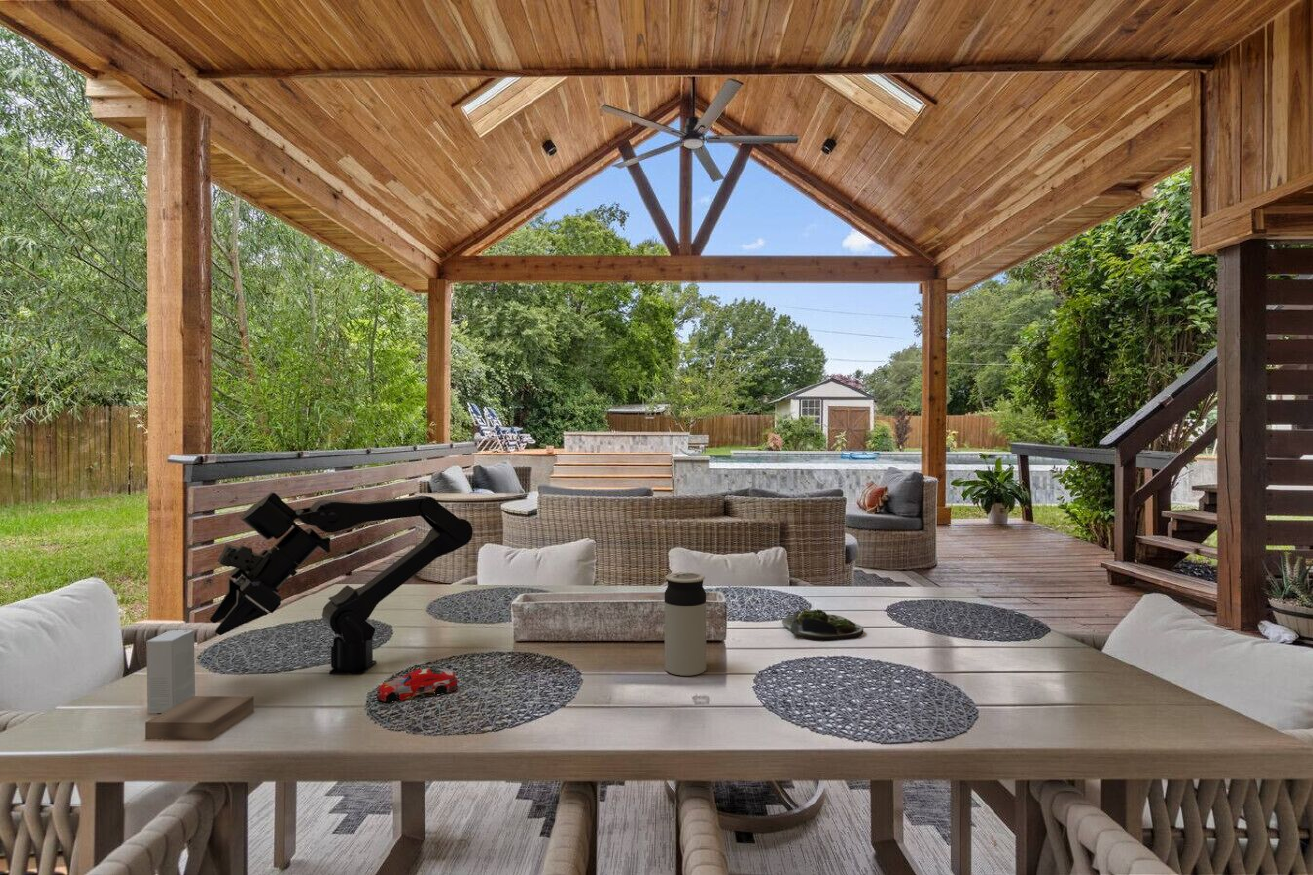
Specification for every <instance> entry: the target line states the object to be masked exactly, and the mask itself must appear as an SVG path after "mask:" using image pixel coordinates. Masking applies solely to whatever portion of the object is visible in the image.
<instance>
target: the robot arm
mask: <svg viewBox="0 0 1313 875" xmlns="http://www.w3.org/2000/svg"><path fill="white" fill-rule="evenodd" d="M414 517H421V518H422V519H423V520H424V522H425V523H427V524H428V525H429V526H430V528H431V529H430V530H429V531H428V533H427V534H426V535H425V537H424V539H423V540H422V541H421V542H420V543H418V544H417V545H416V546H415V547H413V548H412V549H411V550H409V551H407V553H405V554H403V556H401V557H400V558H399V559H397V560H396V561H395V562H393V563H392V564H391V565H389V566H387V568H385V569H384V570H382V571H381V572H379V573H378V574H377V575H376V576H374V577H373V578H372V579H370V580H369V581H368V582H366V583H365V584H364V585H362V586H359V587H357V588H353V587H351V586H350V585H348V584H347V585H345V586H344V587H343V588H341V590H340V591H338V593H336V594H335V595H333V596H330V597H328V600H329V601H328V602H327V603H326V604H325V605H324V607H323V608H322V612H321V618H322V622H323V623H324V624H325V625H326V626H327V627H328V628H329V629H330V630H331V631H333V633H334V635H336V637H334V638H333V639H332V645H331V646H330V667H331V669H330V670H329V671H328V674H329V675H362V674H363V675H364V674H365V673H366V672H367V671H368V670H370V669H371V668H372V667H374V666H375V665H376V664H377V660H375V659H374V660H373V658H374V657H373V653H374V650H373V642H374V640H373V639H374V638H373V637H374V634H375V632H376V628H375V627H374V626H373V625H371V624H370V623H369V622H368V621H367V620H368V619H369V618H370V617H371V615H372V614H373V611H374V610H375V609H376V607H377V605H378V604H379V603H380V602H381V601H383V600H384V599H386V598H387V597H388V596H390V595H391V594H392V593H393V592H395V591H396V590H398V588H400V587H402V585H403V584H404V583H406V582H408V581H409V580H410V579H411V578H413V577H414V576H416V574H418V573H419V572H421V571H422V570H423V569H425V568H426V567H427V566H428V565H429V564H431V563H432V562H433V561H435V560H436V559H437V558H440V557H441V556H444V555H447V554H451V553H452V552H455V551H457V550H459V549H460V548H462V547H464V546H466V545H467V544H469V542H470V541H471V540H472V539H473V532H474V531H473V526H472V524H471V522H469V521H468V520H467V519H464V518H459V517H457V516H456V515H455V514H454V513H453V512H451V511H450V510H448V509H447V508H446V507H445V506H443V505H441V504H440V502H438V501H437V500H436V498H434V497H433V496H427V495H417V496H416V497H404V498H403V497H402V498H395V499H384V500H374V501H373V500H371V501H363V502H359V501H358V502H357V501H347V500H338V499H337V500H336V499H320V500H317V501H315V502H314V503H313V504H312V505H311V506H310V507H304V508H297V509H293V508H292V507H291V506H289V505H288V504H287V503H286V502H284V500H282V499H281V497H280V496H279V495H278V494H277V493H276V492H274V491H271V492H269V493H268V494H267V495H266V496H265V497H263V498H262V499H260V500H259V501H257V503H253V504H252V505H251V506H250V507H249V508H248V509H246V511H245V512H244V513H243V515H242V516H241V517H240V520H241V521H242V522H244V523H245V524H246V525H247V526H249V528H251V529H252V530H254V531H255V532H256V533H257V534H258V535H260V536H261V537H262V538H264V539H265V540H267V541H268V540H270V539H274V540H279V539H280V540H279V541H277V542H276V544H274V545H273V547H271V548H270V549H269V548H267V549H263V550H262V551H261V552H260V553H257V552H254V551H253V548H252V547H247V546H245V545H243V544H242V545H240V546H239V547H238V546H235V545H232V544H228V543H227V544H225V546H224V548H223V550H222V552H221V553H220V556H219V557H218V560H217V562H218V564H220V565H222V566H225V567H227V568H229V567H232V568H233V570H232V571H230V573H228V575H229V576H230V577H229V576H228V578H227V587H228V588H227V589H228V590H227V592H226V593H225V595H224V597H223V598H222V599H221V601H220V603H219V604H218V606H217V607H216V609H215V610H214V612H213V613H212V615H211V616H210V618H209V621H210V622H211V623H213V624H217V623H218V622H220V623H219V625H218V626H217V627H216V629H215V631H214V632H215V633H216V634H217V635H218V636H222V635H224V634H226V633H228V632H230V631H232V630H234V629H237V628H240V627H241V626H243V625H245V624H247V623H251V622H252V621H255V620H256V619H258V618H261V617H263V616H267V615H269V613H270V614H273V613H274V612H275V611H276V610H277V609H278V608H279V607H280V606H281V604H282V602H281V601H282V598H281V596H280V595H279V594H278V593H279V591H280V590H279V588H280V586H282V585H283V583H284V582H285V581H286V580H287V579H288V578H290V577H291V576H292V577H294V576H295V575H297V573H298V571H297V569H299V567H300V566H301V565H302V564H303V563H304V562H305V561H307V559H308V558H309V557H310V556H311V555H312V554H314V552H316V550H317V549H318V548H319V550H320V549H321V551H323V552H325V553H327V554H329V553H330V552H331V545H330V544H331V537H328V536H321V535H320V534H319V533H318V532H316V530H320V531H321V532H324V533H328V534H329V533H337V532H340V531H343V530H346V529H350V528H353V527H356V526H358V525H360V524H365V523H369V522H378V521H379V522H380V521H385V520H386V521H388V520H395V519H397V520H398V519H404V518H414ZM294 521H298V522H300V523H302V524H303V525H304V524H305V525H309V526H312V527H313V528H315V529H316V530H314V529H313V528H311V527H310V528H306V529H303V528H302V527H301V526H300V525H299V524H297V523H296V522H294ZM268 612H269V613H268Z"/></svg>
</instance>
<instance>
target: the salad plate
mask: <svg viewBox="0 0 1313 875" xmlns="http://www.w3.org/2000/svg"><path fill="white" fill-rule="evenodd" d="M781 624H782V625H783V627H785V628H786V629H787V630H789V631H790V632H791V633H792V634H794V636H797V637H798V638H800V639H804V640H808V641H809V640H810V641H814V642H815V641H816V642H834V641H847V640H853V639H857V638H860V637H861V636H862V635H863V633H864V627H863V626H862V625H860V624H857V623H855V622H853V621H852V620H850V619H848V618H846V617H843V616H842V615H836V614H827V612H826V611H824V610H821V609H819V608H817V609H814V610H809V609H808V608H806V609H804V610H803V612H801V611H798V610H796V611H793V616H787V617H784V618H782V619H781Z"/></svg>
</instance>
